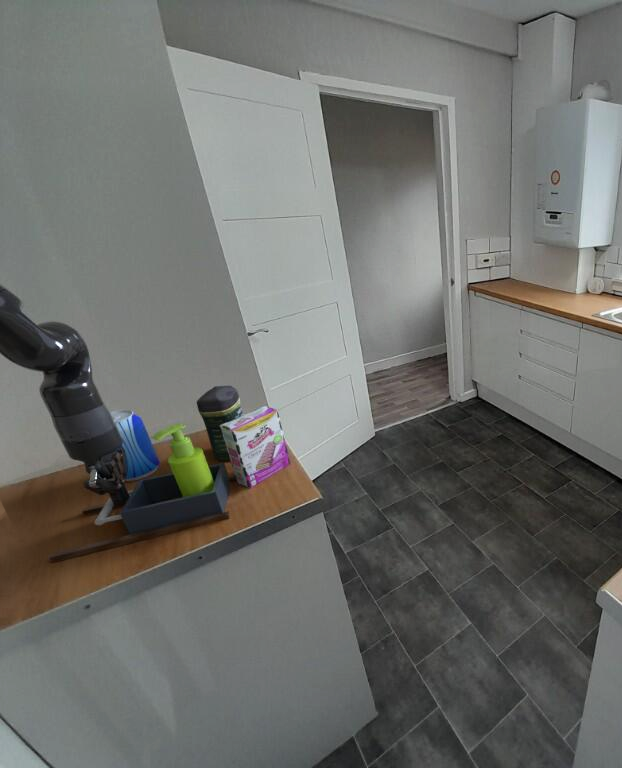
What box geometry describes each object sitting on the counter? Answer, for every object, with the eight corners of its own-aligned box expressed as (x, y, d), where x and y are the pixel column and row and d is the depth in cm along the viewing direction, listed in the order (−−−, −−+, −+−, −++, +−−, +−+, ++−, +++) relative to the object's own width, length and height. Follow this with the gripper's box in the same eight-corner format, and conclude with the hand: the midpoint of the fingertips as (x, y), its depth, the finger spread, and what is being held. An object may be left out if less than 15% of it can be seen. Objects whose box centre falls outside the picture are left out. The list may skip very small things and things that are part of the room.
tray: (100, 544, 79) (87, 520, 77) (121, 507, 89) (111, 485, 86) (223, 514, 87) (215, 492, 85) (231, 483, 97) (224, 462, 95)
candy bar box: (251, 490, 95) (231, 430, 88) (237, 484, 97) (217, 425, 90) (292, 465, 104) (278, 409, 98) (279, 459, 106) (264, 404, 99)
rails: (51, 562, 76) (48, 557, 75) (86, 512, 88) (83, 507, 87) (229, 519, 87) (227, 514, 86) (238, 479, 99) (236, 475, 98)
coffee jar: (245, 461, 106) (225, 398, 98) (211, 465, 104) (187, 401, 96) (258, 441, 114) (240, 381, 106) (226, 444, 113) (206, 384, 105)
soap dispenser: (176, 511, 88) (142, 433, 80) (208, 492, 94) (180, 417, 86) (195, 519, 86) (162, 439, 78) (226, 498, 92) (198, 422, 84)
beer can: (112, 475, 99) (84, 418, 93) (154, 458, 106) (131, 404, 99) (124, 488, 95) (95, 430, 88) (167, 470, 101) (143, 414, 95)
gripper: (77, 417, 80) (111, 488, 87) (42, 451, 69) (84, 529, 77) (125, 410, 83) (155, 479, 90) (99, 442, 72) (135, 517, 79)
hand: (122, 502), depth 83 cm, fingers closed
